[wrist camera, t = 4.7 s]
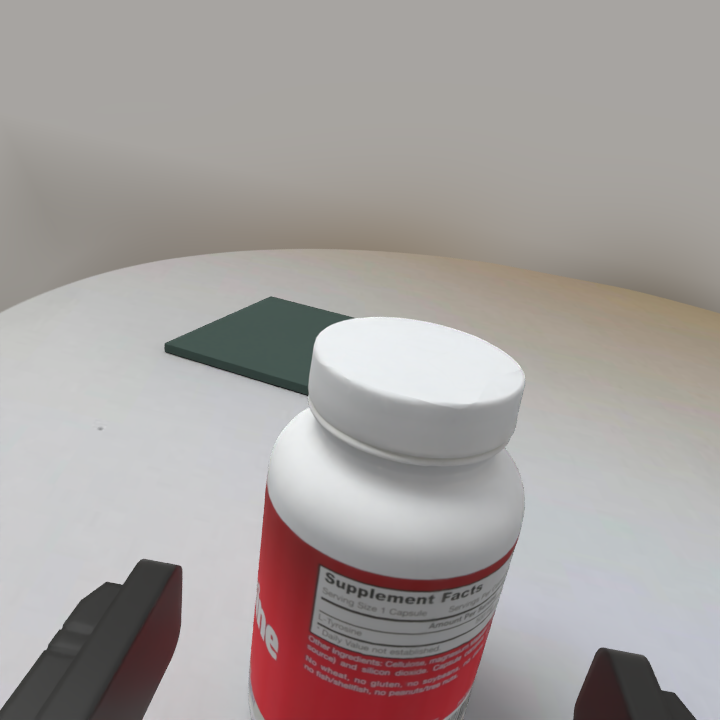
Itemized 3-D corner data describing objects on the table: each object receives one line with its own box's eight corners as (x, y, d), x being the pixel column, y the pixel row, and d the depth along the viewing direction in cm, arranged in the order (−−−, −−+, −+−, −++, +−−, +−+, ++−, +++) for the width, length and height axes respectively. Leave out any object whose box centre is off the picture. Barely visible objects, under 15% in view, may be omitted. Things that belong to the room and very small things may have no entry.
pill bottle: (281, 597, 20) (316, 291, 16) (457, 638, 19) (542, 332, 15) (210, 781, 14) (236, 380, 10) (456, 848, 14) (591, 451, 10)
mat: (164, 351, 38) (164, 343, 37) (270, 302, 50) (270, 296, 50) (364, 412, 34) (365, 403, 33) (425, 343, 46) (427, 336, 46)
